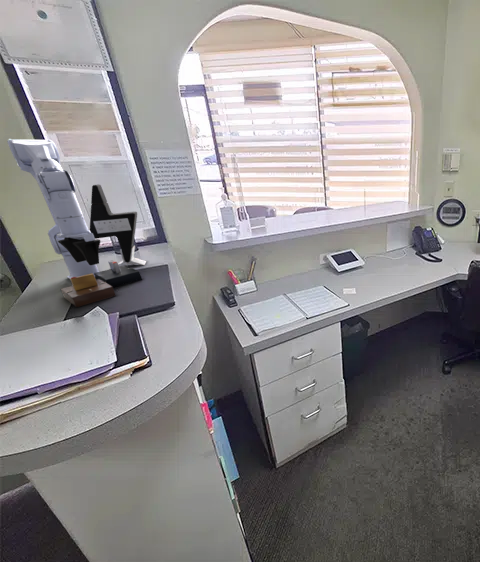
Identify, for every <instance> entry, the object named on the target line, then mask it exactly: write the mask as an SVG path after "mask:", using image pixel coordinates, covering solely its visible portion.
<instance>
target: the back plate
mask: <svg viewBox="0 0 480 562" xmlns="http://www.w3.org/2000/svg"><path fill="white" fill-rule="evenodd" d="M119 268H120V270H121V273H118V274H117V273H115V272H112V271H111V268H109V269H105V270H101V271H99V272H96V273H94V275H95V279H96V280H97V279H100V280H101V281H103V282H106V283H107V284H109V285H110V286H112V287H113V288H117V287H121V286H123V285H128V284H132V283H134V282H138V281H139V282H140V281H142V280H143V278H142V274H141V273H140V270H137V269H135V268H133V267H130V266H128V265H124V266H121V267H119Z"/></svg>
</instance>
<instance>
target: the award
mask: <svg viewBox="0 0 480 562" xmlns="http://www.w3.org/2000/svg"><path fill="white" fill-rule="evenodd" d="M90 204H91V205H90V215H89V230H90V232H91V233H93V235H94V238H95V239H103V238H111V237H116V239H117V241H118V244H119V248H120V249H119V252H120V255H121V256H120V257H121V259H122V260H120V261H119V262H117V263H118V265H119V267H122V266H127V265H135V266H145V265H146V263H147V261H146V260H144V259H141V258H136V257H135V249H136V245H135V238H136V236H135V235H136V228H137V221H138V212H137V211H128V212H127V211H126V212H118V213H113V212H112V211H111V208H110V205H109V203H108V200H107V197H106V195H105V193H104V190H103V188H102V185H101V184H99V183H98V184H93V185H92V186H91V200H90Z"/></svg>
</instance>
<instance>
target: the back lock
mask: <svg viewBox="0 0 480 562" xmlns="http://www.w3.org/2000/svg"><path fill="white" fill-rule="evenodd" d="M118 263H119V262H117V261H114V260H108V266H109V269H111V271H112V272H115V273H117V274H118V273H121V270H120V268H119V265H118Z"/></svg>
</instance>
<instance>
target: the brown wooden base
mask: <svg viewBox="0 0 480 562" xmlns="http://www.w3.org/2000/svg"><path fill="white" fill-rule="evenodd" d="M96 282H97V284H98V285H96V286H92V287H88V288H84V289H80V290H77V291H76V290H75V289H74V287H73V285H70V286H69V285H68V286H66V287H62V288H60V292H61V293H62V295H63V297H64V299H65V300H67V302H69V303H70V304H72V305H73V306H74V307H75V308H79V307H83V306H87V305H89V304H92V303H97V302H100V301H102V300H107V299H110V298H113V297H116V296H117V295H116V293H115V289H114V287H112V286H110V285H109V284H107V283H106V282H103V281H101V280H100V279H97V280H96Z"/></svg>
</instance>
